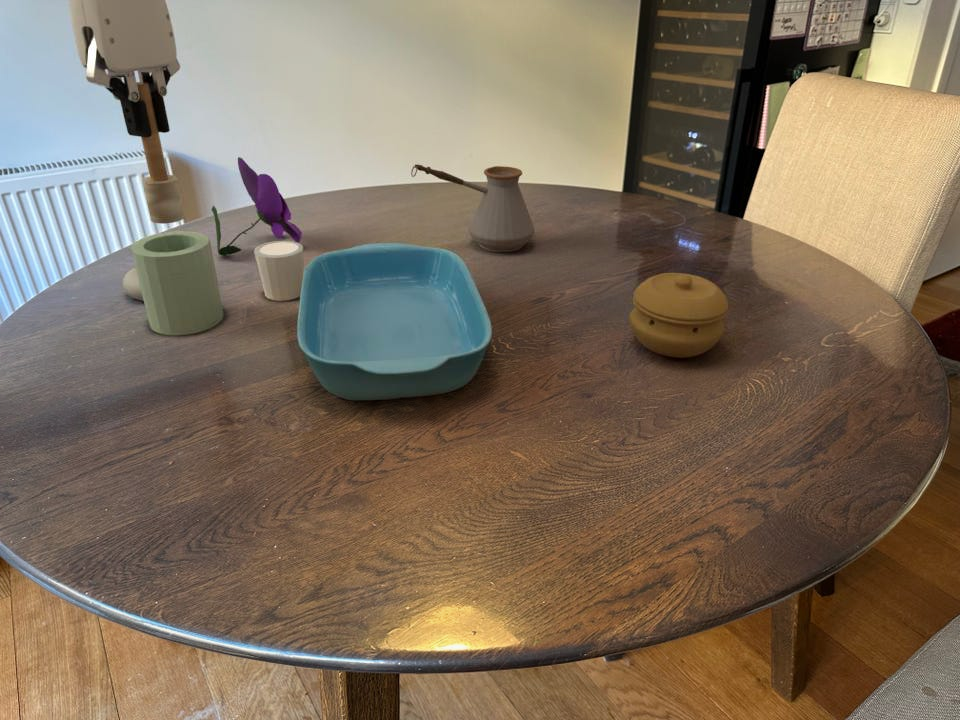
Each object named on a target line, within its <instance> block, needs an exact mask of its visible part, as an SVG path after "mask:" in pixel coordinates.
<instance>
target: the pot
mask: <svg viewBox="0 0 960 720" xmlns="http://www.w3.org/2000/svg"><path fill="white" fill-rule="evenodd" d="M632 303H633V304H634V306H635V307H633V309H632V310H631V312H630V313H629V324H630V327H631V329H632V331H633V333H634V335H635V337H636V339H637V340H638V342H640V344H641V345H642V346H644V347H645V348H646V349H648V350H649V351H651V352H653V353H655V354H658V355H661V356H665V357H669V358H677V359H683V358H684V359H687V358H692V357H697V356H699V355H702V354H704V353H707V352H708V351H709V350H711V349H712V348H713V347H714V346H715V345H716V344H717V343H718V342H719V340H720V339H721V338H722V337H723V335H724V332H725V327H726V326H725V323H724V320H723V319H724V318H725V317H726V316H727V315H728V312H729V302H728V298H727V297H726V295H725V293H724V292H723V290H722V289H721V288H719V286H718V285H716V284H715V283H714V282H712V281H711V280H709V279H707V278H703V277H701V276H698V275H694V274H689V273H684V272H683V273H682V272H665V273H659V274H656V275H652V276H651V277H648V278H646V279H645V280H643V282H641V283H640V284H638V286H637V287H636V288H635V290H634V291H633V296H632Z"/></svg>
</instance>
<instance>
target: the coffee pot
mask: <svg viewBox="0 0 960 720" xmlns="http://www.w3.org/2000/svg"><path fill="white" fill-rule="evenodd" d="M414 169H415V171H414ZM418 171H420V172H424V173H425V174H426V175H432V176H434V177H435V178H437V179H440V180H443V181H446V182H449V183H454V184H456V185H460V186H464V187H467V188H469V189H472V190H475V191H477V192H480V193H482V195H481V197H480V200H479V202H478V205H477V206H476V209H475V211H474V213H473V215H472V217H471V220H470V222H469V225H468V229H467V230H468V233H469V235H470V237H471V239H472V240H473V241H474V242H475V243H476V244H478V246H479V247H480V248H481V249H484V250H486V251H489V252H494V253H508V252H509V253H510V252H514V251H518V250H520V249H521V248H522V247H523V246H524V245H526V244H527V243H528V242H529V241H530V240H531V239H532V238H533V235H534V233H535V226H534V223H533V221H532V218H531V215H530V213H529V210H528V208H527V205H526V202H525V199H524V197H523V194H522V191H521V188H520V186H519V180H520V177H521V176H522V175H523V171H522V170H521V169H519V168H518V167H512V166H502V165H501V166H500V165H495V166H491V167H488V168H485V169H484V170H483V174H484V176H486V181H487V184H486V186H482V185H479V184H476V183H474V182H473V183H472V182H469V181H466V180H464V179H462V178H460V177H457V176H455V175H452V174H450V173H447V172H446V171H443V170H438V169H432V168H431V166H423V165H422V164H414V165H413V167H412V168H411V172H410V175H411V177H412V178H415V176H416V175H417V173H418ZM413 172H415V173H414V174H413Z"/></svg>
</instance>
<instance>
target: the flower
mask: <svg viewBox="0 0 960 720" xmlns="http://www.w3.org/2000/svg"><path fill="white" fill-rule="evenodd" d="M237 166H238V171H239V174H240V177H241V180H242V183H243V185H244V187H245V190H246V192H247V194H248V196H249V197H250V199H251V200H252V202H253V203H254V206H255V208H256V214H257V216H258V219H257V220H256V221H255V222H254V223H253V222H251V226H250V227H248V228H247V229H245V230H243V231H242V232H240V233H238V234H237V235H236V236H235V238H234V239H233V240H231V242H229V244H227V245H226V246H223V247H221V239H222V238H221V237H222V233H221V221H220V218H219V215H218V210H217V208H216V206H215V205H213V206H212V207H211V212H212V214H213V216H214V222H215V232H216V246H217V254H218V255H219V256H222V257H226V258H228V256H230V255H234V254H237V253H239V252H241V251H242V249H241V248H239V247H238V246H235V245H232V244H233V243H234V242H235V241H236V240H237V239H238V238H239V237H240V236H242V235H244V234H245V235H247V232H248V231H250V230H251V229H253V228H254V227H256V225H257V224H258V223H259V222H260V221H261V222H263V223H264V224H266V225H268V226H270V230H271V232H272V234H273V236H274V237H278V238H283V236H284V232H285V233H286V234H287V235H289V236H290V237H291V238H292V240H293V241H294V242H297V243H300V244H301V239H302V235H303V232H302V231H301V229H300V228H299V227H298V226H297V225H296V224H295V223H292V222H290V221H291V219H292V213H291V211H290V208H289V206H288V204H287V202H286V200H285V198H284V196H283V195H282V193H280V190H279V187H278V185H277V183H276V182H275V180H274V179H273V177H272V176H270V175H269V174H267V173H259V174H258V173H257V172H256V171H255V170H254V169H253V168H251V167H250V165H248V164H247V162H246V161H245V160H244V159H243V157H239V156H238V157H237Z"/></svg>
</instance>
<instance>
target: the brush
mask: <svg viewBox="0 0 960 720" xmlns="http://www.w3.org/2000/svg"><path fill="white" fill-rule="evenodd" d="M136 82H137V87H138V91H139V100H141V101H144V102H145V104H146V108H147V113H148V118H149V122H150V127H151V131H152V135H151V136H150V137H140V138H141V144H142V147H143V152H144V157H145V160H146V165H147V171H148V175H149V176H147V177H144V178H143V179H141V184H142V188H143V193H144V196H145V201H146V206H147V210H148V214H149V218H150V221H151V223H154V224H162V225H164V224H172V223H173V224H174V223H177V222H181V221H183V220H184V219H185V217H186V215H185V209H184V206H183V200H182V196H181V190H180V185H179V181H178V177H177V176H176V175H174V174H168V171H167V170H168V169H167V166H166V160H165V155H164V151H163V145H162V141H161V137H160V132H158V127H157V122H156V117H155V113H154V108H153V103H152V98H151V94H150V89H149V84H148V83H147V82H140V81H136Z"/></svg>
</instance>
